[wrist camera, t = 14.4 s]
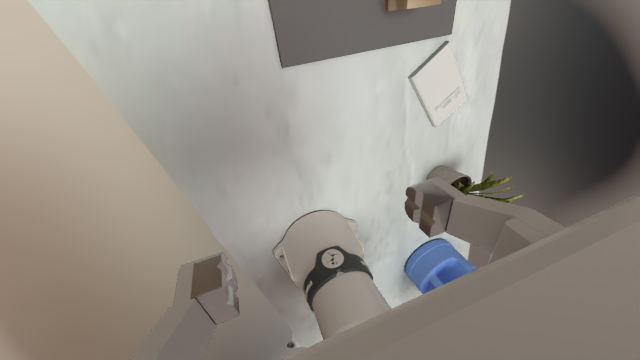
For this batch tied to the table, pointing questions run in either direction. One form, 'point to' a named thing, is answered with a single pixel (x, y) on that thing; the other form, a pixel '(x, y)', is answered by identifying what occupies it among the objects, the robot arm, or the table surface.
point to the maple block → (408, 4)
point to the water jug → (436, 265)
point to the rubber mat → (351, 27)
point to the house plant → (469, 182)
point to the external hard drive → (439, 84)
